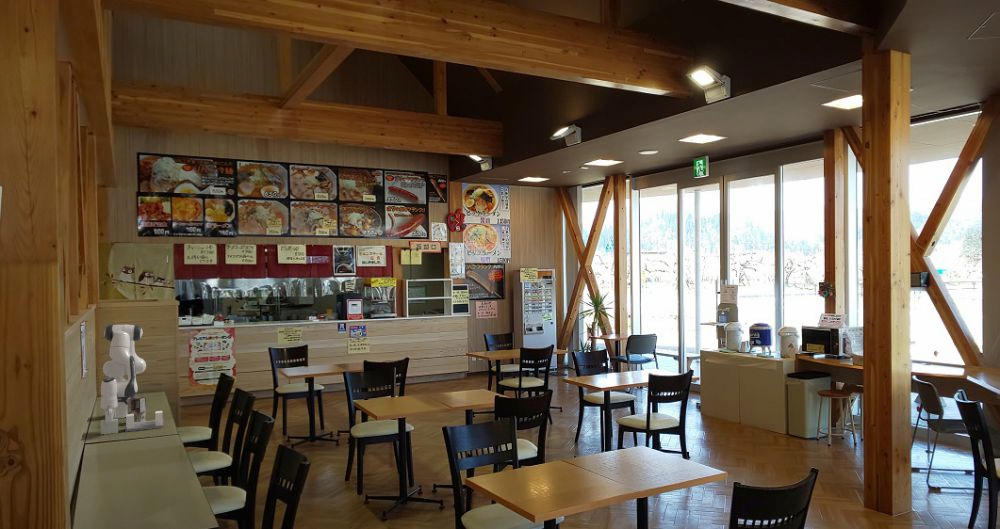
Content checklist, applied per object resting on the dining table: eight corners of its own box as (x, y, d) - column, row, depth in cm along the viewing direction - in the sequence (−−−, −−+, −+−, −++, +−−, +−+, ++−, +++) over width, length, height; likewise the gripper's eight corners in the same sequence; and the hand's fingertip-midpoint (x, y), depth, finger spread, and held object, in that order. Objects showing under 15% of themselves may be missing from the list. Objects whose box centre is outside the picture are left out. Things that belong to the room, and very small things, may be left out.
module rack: (126, 429, 421) (125, 413, 421) (163, 424, 431) (163, 410, 431) (125, 432, 413) (125, 416, 413) (163, 427, 423) (163, 412, 423)
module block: (101, 433, 411) (101, 420, 411) (118, 431, 415) (118, 418, 415) (100, 434, 407) (100, 421, 407) (118, 432, 411) (117, 419, 411)
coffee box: (146, 421, 441) (146, 397, 441) (140, 423, 435) (140, 399, 435) (133, 421, 442) (133, 397, 442) (127, 423, 436) (127, 398, 436)
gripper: (114, 407, 404) (114, 430, 404) (115, 401, 422) (116, 423, 422) (102, 408, 401) (102, 431, 401) (104, 402, 419) (104, 424, 419)
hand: (109, 427), depth 411 cm, fingers closed on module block, 4 cm apart
